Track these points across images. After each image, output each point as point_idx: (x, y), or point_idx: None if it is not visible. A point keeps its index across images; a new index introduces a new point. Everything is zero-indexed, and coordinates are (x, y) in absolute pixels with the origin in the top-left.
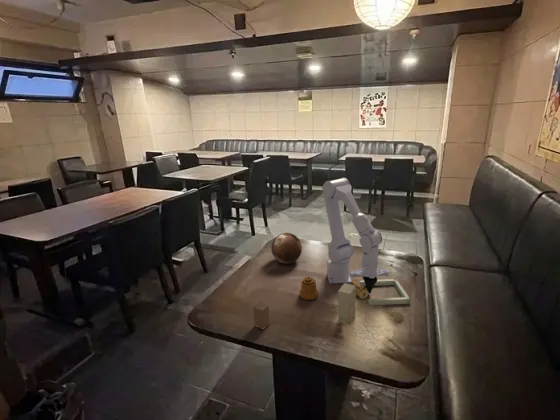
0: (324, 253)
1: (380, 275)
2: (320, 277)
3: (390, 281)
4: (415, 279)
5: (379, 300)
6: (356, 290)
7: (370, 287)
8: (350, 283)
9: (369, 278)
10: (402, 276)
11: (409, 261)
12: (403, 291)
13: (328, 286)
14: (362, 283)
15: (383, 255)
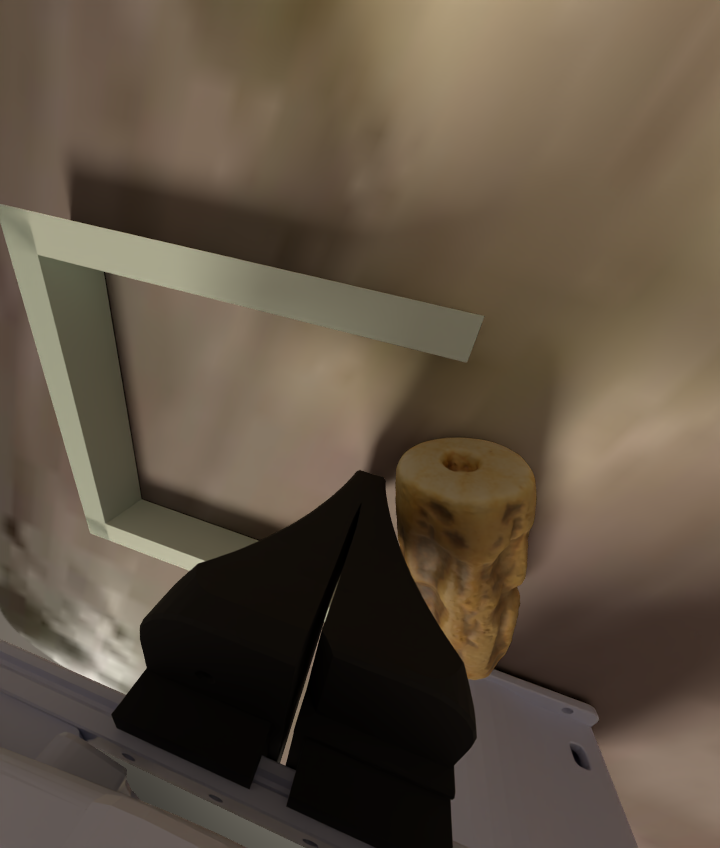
0: None
1: (46, 669)
2: None
3: (137, 529)
4: (14, 491)
5: (344, 285)
6: (524, 550)
7: (351, 515)
8: (499, 658)
9: (312, 702)
10: (79, 542)
11: (34, 613)
12: (52, 364)
13: (635, 688)
14: None
15: None
